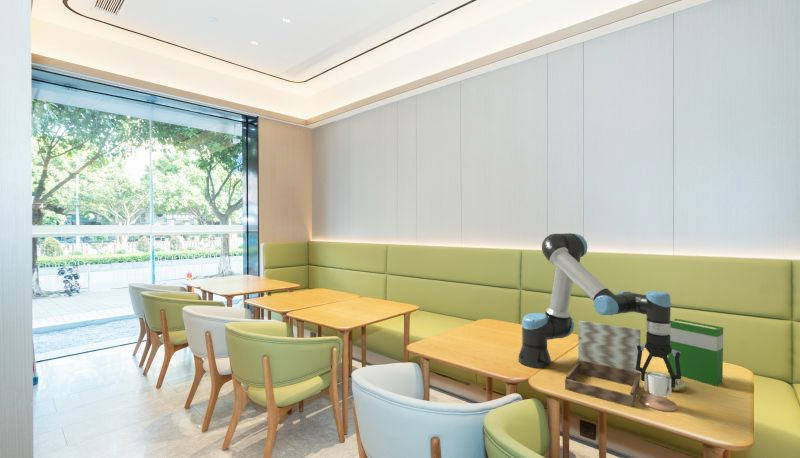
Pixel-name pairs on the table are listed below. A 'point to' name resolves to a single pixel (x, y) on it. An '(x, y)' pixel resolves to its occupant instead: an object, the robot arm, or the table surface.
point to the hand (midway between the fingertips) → (657, 392)
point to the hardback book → (697, 351)
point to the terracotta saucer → (657, 402)
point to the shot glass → (658, 383)
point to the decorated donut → (678, 385)
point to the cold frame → (606, 361)
